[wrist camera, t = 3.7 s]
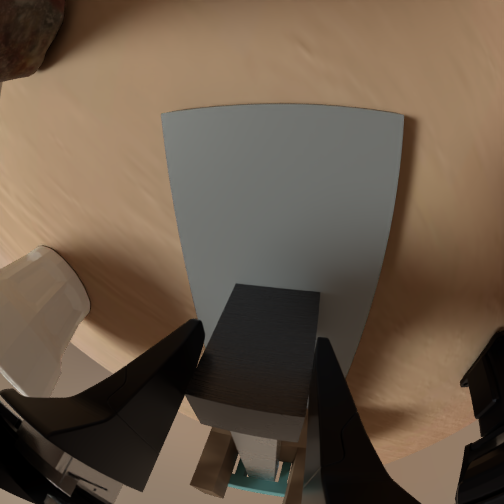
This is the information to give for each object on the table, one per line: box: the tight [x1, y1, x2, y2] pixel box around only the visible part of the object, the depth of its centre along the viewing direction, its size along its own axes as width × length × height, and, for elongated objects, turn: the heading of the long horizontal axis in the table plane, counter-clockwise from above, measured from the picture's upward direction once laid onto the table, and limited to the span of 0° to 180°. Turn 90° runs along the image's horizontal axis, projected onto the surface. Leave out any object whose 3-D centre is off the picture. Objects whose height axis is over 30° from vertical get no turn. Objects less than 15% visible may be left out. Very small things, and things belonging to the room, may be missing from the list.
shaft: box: [185, 283, 320, 482], centre depth 17 cm, size 4×23×7 cm, turn 3°
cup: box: [0, 246, 90, 398], centre depth 17 cm, size 12×12×11 cm
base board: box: [161, 103, 404, 409], centre depth 19 cm, size 10×33×1 cm, turn 3°
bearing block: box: [190, 409, 308, 504], centre depth 19 cm, size 9×6×10 cm, turn 93°
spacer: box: [228, 457, 291, 497], centre depth 21 cm, size 8×3×5 cm, turn 93°
